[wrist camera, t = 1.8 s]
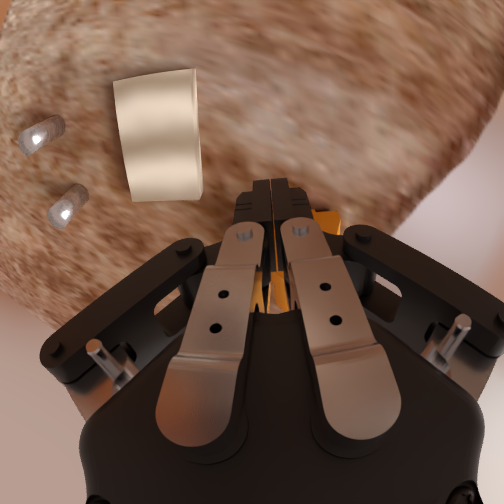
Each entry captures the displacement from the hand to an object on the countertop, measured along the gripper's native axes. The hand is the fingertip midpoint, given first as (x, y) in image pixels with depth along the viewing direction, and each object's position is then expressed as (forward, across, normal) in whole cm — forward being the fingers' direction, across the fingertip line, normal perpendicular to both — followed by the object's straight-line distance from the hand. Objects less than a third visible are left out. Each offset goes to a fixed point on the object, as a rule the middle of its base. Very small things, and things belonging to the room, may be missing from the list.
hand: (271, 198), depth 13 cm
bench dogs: (+18, +25, 0) cm, 31 cm away
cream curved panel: (+18, +11, 0) cm, 22 cm away
